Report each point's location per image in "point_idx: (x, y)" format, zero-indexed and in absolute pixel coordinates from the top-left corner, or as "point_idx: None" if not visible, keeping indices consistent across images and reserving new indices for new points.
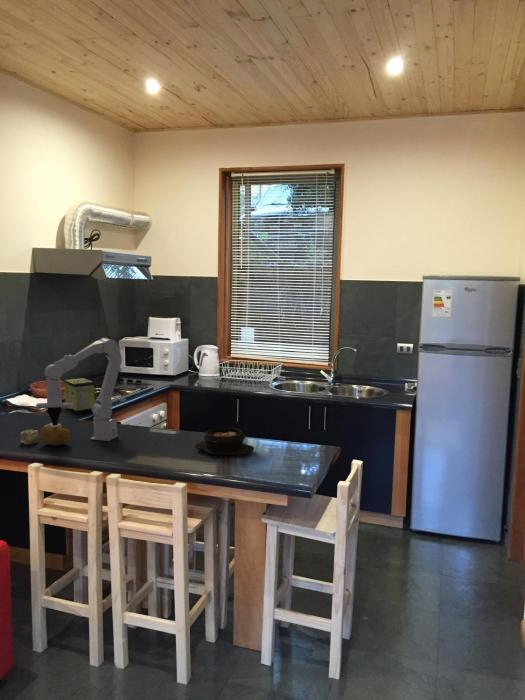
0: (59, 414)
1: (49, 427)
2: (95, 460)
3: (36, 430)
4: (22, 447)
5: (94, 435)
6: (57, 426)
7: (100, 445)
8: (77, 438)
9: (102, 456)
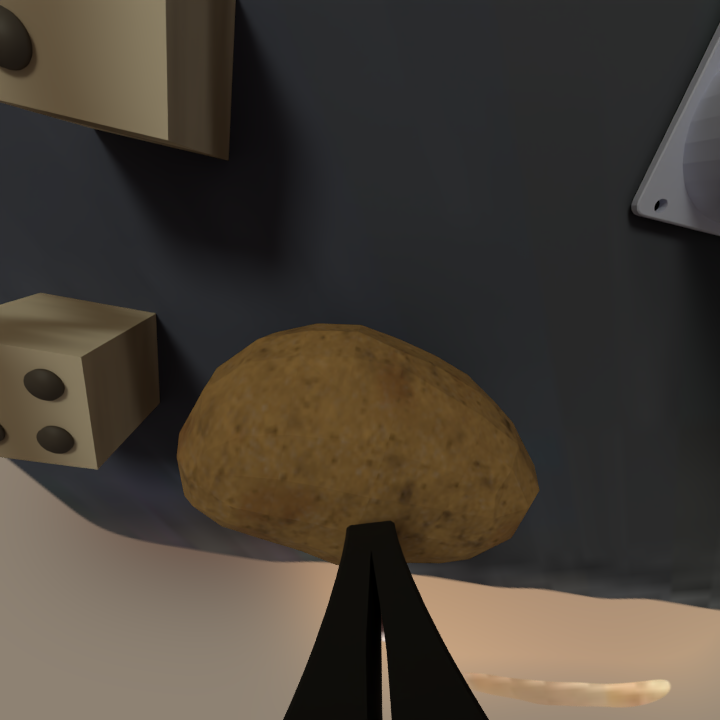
0: (473, 716)
1: (302, 532)
2: (666, 592)
3: (63, 362)
4: (144, 461)
5: (714, 191)
6: (174, 32)
7: (715, 370)
8: (489, 173)
9: (707, 548)
